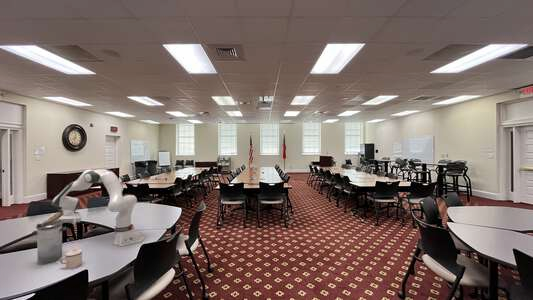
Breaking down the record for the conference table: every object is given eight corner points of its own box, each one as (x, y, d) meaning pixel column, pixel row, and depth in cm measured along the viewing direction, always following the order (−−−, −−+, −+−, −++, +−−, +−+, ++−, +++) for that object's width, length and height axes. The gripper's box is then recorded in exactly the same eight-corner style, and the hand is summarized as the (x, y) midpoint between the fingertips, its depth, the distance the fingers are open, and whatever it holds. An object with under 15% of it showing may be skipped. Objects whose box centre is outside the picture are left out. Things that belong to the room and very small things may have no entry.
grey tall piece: (68, 253, 177) (68, 216, 176) (62, 261, 164) (62, 222, 163) (38, 258, 169) (37, 220, 168) (29, 267, 156) (28, 226, 155)
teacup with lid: (83, 260, 166) (83, 244, 165) (81, 266, 158) (81, 249, 158) (61, 265, 159) (60, 248, 159) (58, 271, 151) (58, 254, 151)
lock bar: (63, 214, 188) (63, 209, 188) (50, 225, 163) (50, 219, 163) (58, 215, 186) (58, 209, 186) (44, 226, 162) (44, 219, 161)
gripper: (50, 212, 193) (49, 220, 183) (81, 212, 207) (82, 219, 196) (49, 219, 194) (47, 227, 183) (80, 218, 207) (80, 226, 197)
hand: (65, 223), depth 190 cm, fingers open, 8 cm apart
